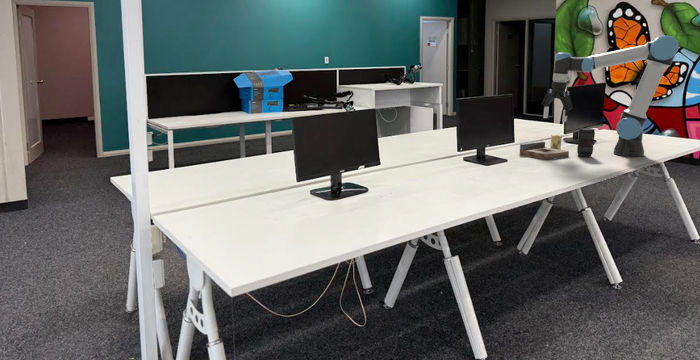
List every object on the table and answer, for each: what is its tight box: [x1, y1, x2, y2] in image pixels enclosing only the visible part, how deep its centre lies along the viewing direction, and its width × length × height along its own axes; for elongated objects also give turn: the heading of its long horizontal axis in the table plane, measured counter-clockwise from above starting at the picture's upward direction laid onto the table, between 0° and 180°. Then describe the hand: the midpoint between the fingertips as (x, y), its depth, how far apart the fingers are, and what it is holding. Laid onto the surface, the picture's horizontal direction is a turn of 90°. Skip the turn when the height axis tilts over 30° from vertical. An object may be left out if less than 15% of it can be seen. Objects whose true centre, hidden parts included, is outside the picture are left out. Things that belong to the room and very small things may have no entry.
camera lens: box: [576, 128, 596, 159], centre depth 301 cm, size 8×8×15 cm
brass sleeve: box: [549, 134, 563, 150], centre depth 317 cm, size 6×6×9 cm
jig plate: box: [519, 141, 570, 161], centre depth 304 cm, size 18×18×6 cm
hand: (554, 120), depth 312 cm, fingers open, 13 cm apart
